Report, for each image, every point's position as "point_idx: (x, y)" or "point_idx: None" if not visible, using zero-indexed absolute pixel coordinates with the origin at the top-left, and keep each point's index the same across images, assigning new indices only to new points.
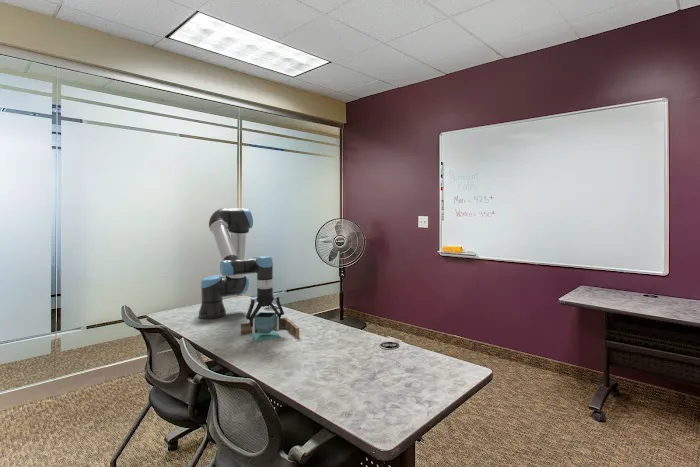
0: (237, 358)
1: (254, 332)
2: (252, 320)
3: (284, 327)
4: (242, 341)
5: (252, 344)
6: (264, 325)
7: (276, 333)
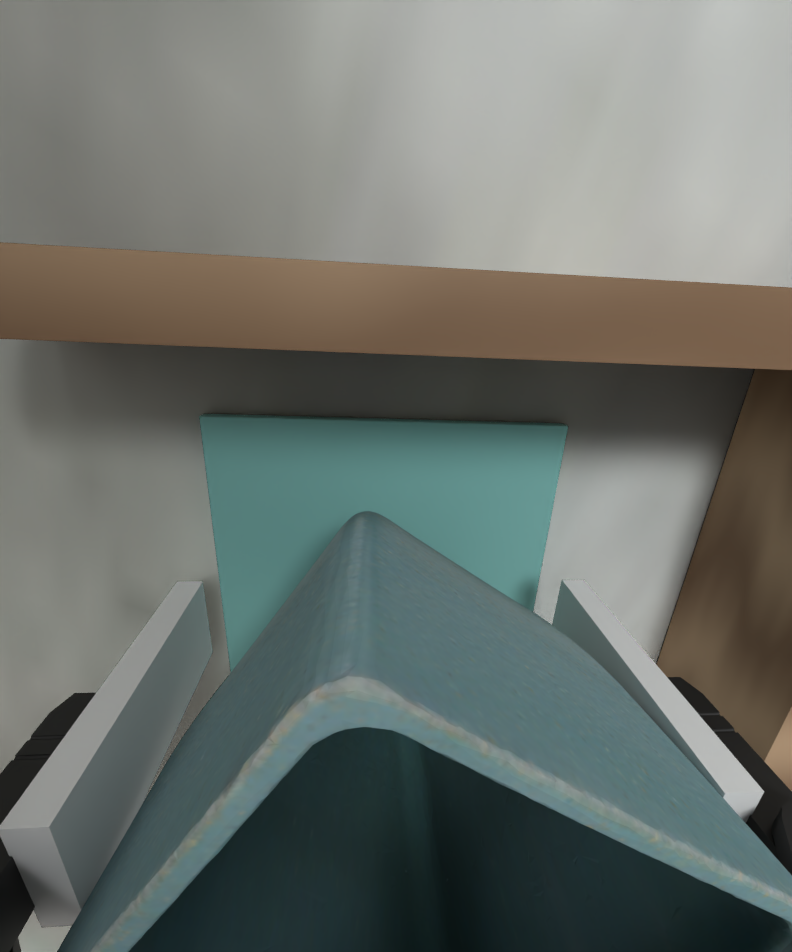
0: (30, 922)
1: (201, 666)
2: (27, 899)
3: (758, 372)
4: (72, 621)
5: (183, 735)
6: (330, 843)
7: (528, 577)
